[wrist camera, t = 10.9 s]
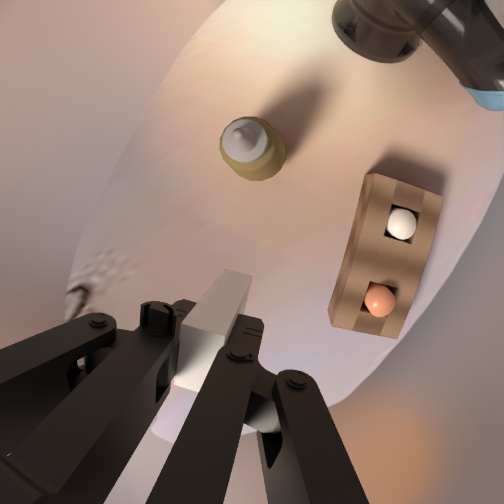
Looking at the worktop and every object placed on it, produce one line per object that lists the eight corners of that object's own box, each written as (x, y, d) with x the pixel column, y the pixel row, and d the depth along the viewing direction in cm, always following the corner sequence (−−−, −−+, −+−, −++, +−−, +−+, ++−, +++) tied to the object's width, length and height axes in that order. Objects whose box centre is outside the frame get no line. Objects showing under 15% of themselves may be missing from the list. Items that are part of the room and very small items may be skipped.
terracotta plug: (363, 274, 42) (374, 287, 36) (386, 279, 42) (399, 293, 36) (355, 298, 43) (364, 314, 37) (378, 303, 43) (389, 319, 37)
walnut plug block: (364, 174, 40) (375, 173, 35) (426, 195, 40) (443, 197, 34) (327, 309, 46) (331, 326, 40) (386, 322, 45) (397, 339, 39)
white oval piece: (381, 203, 41) (394, 206, 35) (403, 210, 40) (419, 214, 34) (374, 228, 42) (387, 235, 36) (397, 235, 41) (411, 242, 35)
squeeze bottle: (253, 119, 41) (229, 78, 23) (297, 149, 41) (301, 124, 24) (222, 161, 43) (178, 146, 25) (265, 192, 43) (247, 196, 26)
